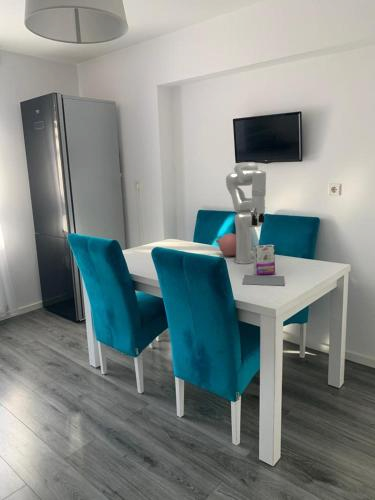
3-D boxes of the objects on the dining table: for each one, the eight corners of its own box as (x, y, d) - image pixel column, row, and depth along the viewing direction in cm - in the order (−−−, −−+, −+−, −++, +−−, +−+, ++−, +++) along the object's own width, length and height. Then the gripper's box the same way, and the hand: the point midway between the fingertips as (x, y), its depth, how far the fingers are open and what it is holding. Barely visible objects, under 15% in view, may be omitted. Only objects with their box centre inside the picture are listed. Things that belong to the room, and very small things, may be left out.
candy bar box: (271, 272, 234) (271, 244, 232) (275, 273, 229) (274, 245, 227) (253, 274, 232) (252, 245, 230) (256, 275, 227) (255, 246, 225)
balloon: (223, 251, 290) (223, 230, 287) (246, 255, 276) (246, 233, 273) (209, 255, 280) (209, 233, 276) (232, 259, 266) (232, 236, 262)
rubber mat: (244, 275, 230) (244, 274, 230) (284, 276, 225) (284, 276, 225) (242, 284, 213) (242, 283, 213) (284, 286, 209) (284, 285, 209)
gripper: (258, 191, 233) (257, 220, 237) (245, 194, 219) (245, 226, 223) (270, 192, 229) (269, 222, 233) (258, 195, 215) (258, 227, 219)
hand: (257, 223), depth 228 cm, fingers open, 9 cm apart
